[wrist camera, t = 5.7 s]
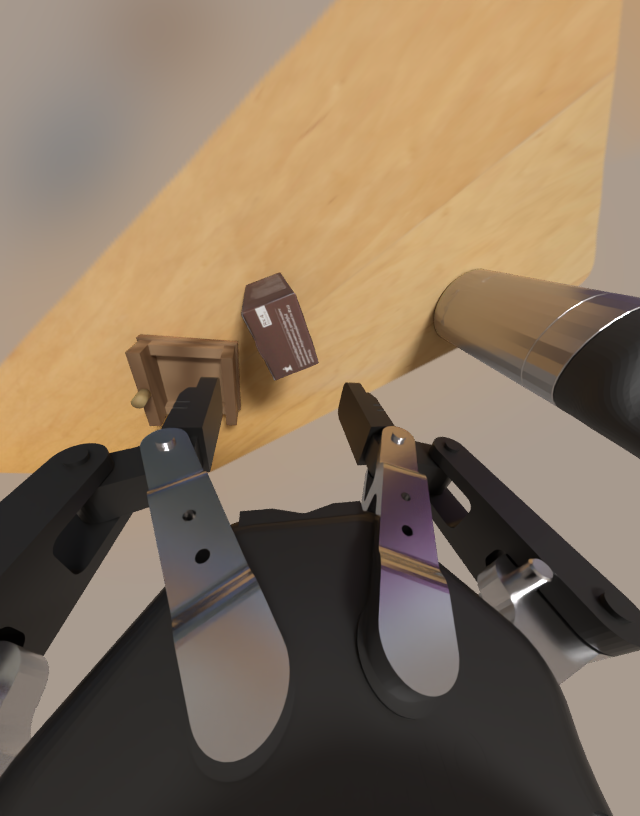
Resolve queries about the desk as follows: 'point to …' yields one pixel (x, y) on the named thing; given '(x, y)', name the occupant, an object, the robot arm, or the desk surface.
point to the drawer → (182, 372)
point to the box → (278, 326)
